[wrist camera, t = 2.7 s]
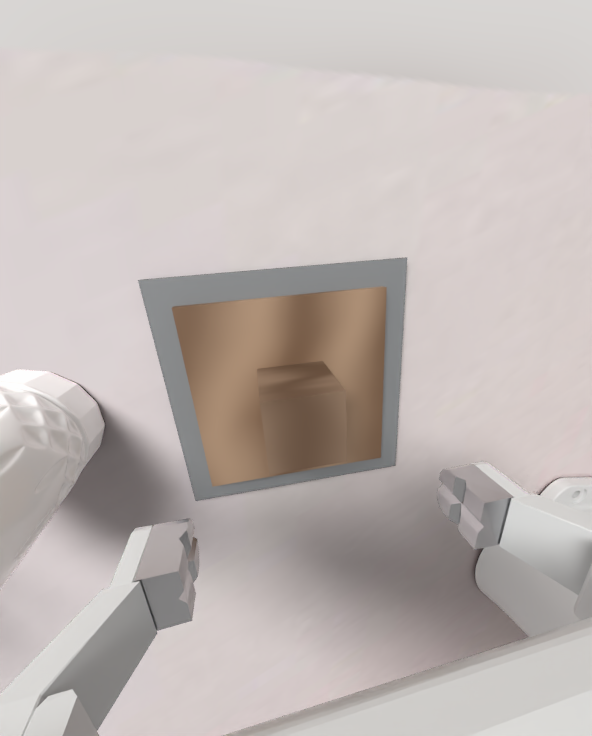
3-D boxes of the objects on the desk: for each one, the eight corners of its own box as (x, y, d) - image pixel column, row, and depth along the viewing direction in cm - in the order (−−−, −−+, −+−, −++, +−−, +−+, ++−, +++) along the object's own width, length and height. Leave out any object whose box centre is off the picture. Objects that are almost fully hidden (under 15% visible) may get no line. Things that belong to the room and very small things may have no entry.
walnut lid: (382, 286, 17) (434, 294, 12) (377, 452, 21) (414, 506, 16) (174, 306, 15) (141, 324, 11) (213, 480, 20) (202, 548, 15)
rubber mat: (402, 257, 17) (407, 257, 17) (392, 461, 22) (395, 465, 22) (141, 279, 15) (138, 280, 15) (196, 495, 20) (195, 501, 20)
